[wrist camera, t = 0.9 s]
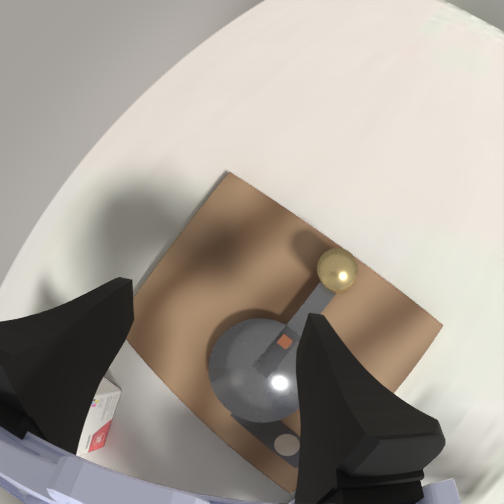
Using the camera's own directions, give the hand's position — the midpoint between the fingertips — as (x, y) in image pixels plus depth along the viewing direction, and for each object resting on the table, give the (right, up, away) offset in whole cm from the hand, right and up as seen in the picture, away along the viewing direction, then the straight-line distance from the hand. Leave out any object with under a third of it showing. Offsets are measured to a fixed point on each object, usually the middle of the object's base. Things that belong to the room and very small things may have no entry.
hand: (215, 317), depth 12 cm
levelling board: (+2, -4, +12) cm, 13 cm away
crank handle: (+4, -4, +10) cm, 11 cm away
